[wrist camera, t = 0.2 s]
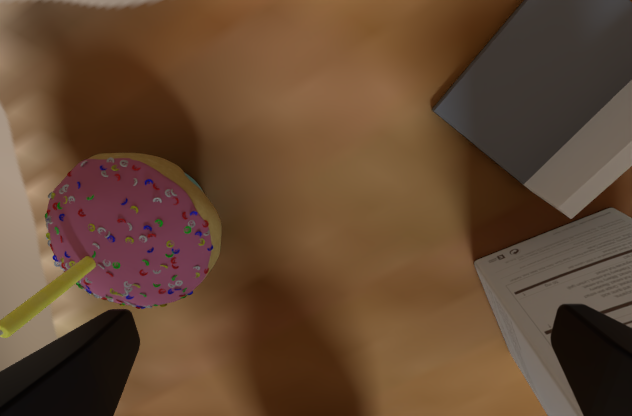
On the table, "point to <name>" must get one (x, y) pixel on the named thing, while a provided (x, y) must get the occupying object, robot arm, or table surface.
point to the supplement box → (558, 293)
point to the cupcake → (126, 234)
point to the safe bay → (552, 98)
